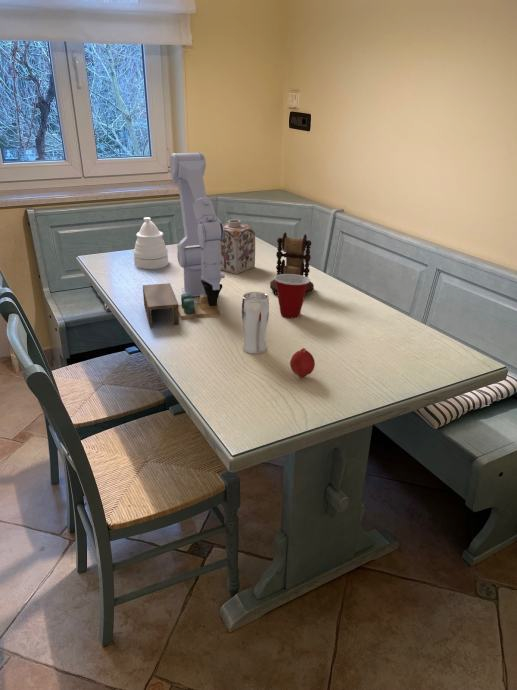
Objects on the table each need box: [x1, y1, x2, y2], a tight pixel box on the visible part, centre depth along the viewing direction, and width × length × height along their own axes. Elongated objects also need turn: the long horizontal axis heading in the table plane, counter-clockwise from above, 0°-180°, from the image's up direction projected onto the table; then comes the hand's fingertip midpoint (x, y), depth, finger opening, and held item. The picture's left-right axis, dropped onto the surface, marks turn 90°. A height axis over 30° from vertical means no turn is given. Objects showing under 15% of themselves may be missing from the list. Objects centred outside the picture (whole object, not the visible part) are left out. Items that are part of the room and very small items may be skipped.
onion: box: [289, 347, 316, 379], centre depth 125 cm, size 6×6×8 cm
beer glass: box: [241, 291, 270, 355], centre depth 136 cm, size 7×7×15 cm
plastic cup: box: [273, 274, 311, 319], centre depth 158 cm, size 11×11×12 cm
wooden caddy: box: [142, 282, 180, 329], centre depth 157 cm, size 8×18×6 cm, turn 16°
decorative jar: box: [220, 219, 256, 275], centre depth 197 cm, size 12×12×18 cm
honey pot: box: [133, 216, 169, 270], centre depth 199 cm, size 13×13×18 cm
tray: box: [178, 293, 221, 320], centre depth 161 cm, size 12×9×5 cm
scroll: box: [269, 231, 315, 296], centre depth 175 cm, size 15×15×20 cm
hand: (211, 304), depth 162 cm, fingers closed on tray, 2 cm apart
